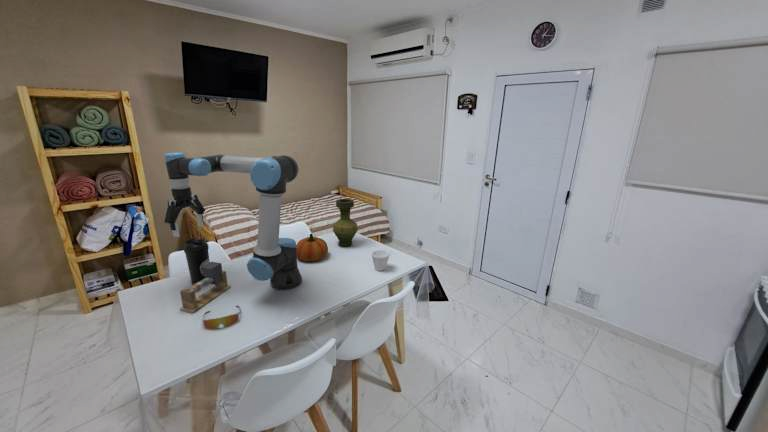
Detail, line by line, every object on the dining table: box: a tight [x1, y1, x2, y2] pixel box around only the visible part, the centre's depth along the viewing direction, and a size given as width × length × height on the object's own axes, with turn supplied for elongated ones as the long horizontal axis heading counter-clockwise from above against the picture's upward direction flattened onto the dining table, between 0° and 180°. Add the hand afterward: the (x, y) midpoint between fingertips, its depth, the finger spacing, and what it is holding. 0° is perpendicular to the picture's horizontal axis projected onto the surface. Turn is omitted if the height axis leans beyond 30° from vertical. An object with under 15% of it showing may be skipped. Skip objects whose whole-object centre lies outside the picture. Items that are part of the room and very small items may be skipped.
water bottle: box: [183, 237, 211, 286], centre depth 150 cm, size 10×10×23 cm
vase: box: [332, 198, 358, 249], centre depth 200 cm, size 16×16×30 cm
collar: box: [201, 261, 223, 286], centre depth 143 cm, size 6×5×9 cm
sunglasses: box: [201, 305, 242, 330], centre depth 128 cm, size 14×15×5 cm
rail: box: [179, 269, 232, 314], centre depth 140 cm, size 22×7×9 cm, turn 165°
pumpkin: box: [296, 233, 329, 262], centre depth 183 cm, size 19×19×15 cm
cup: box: [370, 249, 390, 272], centre depth 172 cm, size 10×10×9 cm
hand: (189, 231), depth 147 cm, fingers open, 13 cm apart
